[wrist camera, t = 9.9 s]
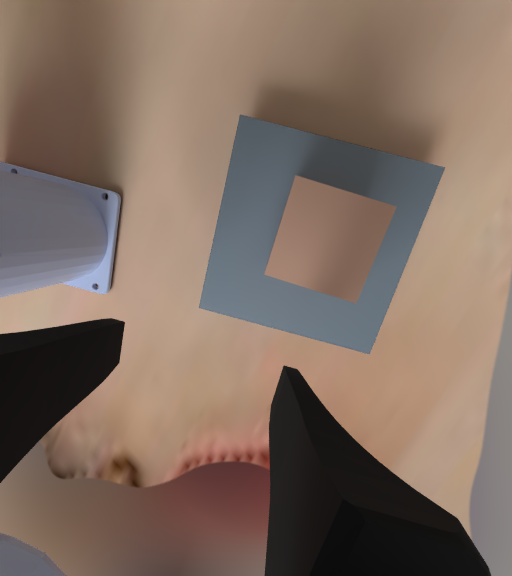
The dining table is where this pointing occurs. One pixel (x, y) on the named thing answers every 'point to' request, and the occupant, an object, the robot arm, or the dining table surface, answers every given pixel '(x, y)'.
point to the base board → (267, 215)
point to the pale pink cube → (328, 239)
